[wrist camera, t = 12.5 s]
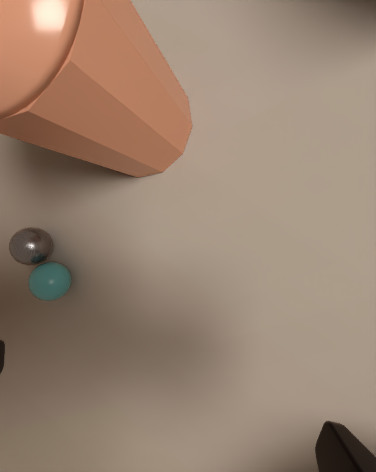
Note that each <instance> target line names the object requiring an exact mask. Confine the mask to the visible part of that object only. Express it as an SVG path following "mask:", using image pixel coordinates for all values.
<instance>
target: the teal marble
mask: <svg viewBox="0 0 376 472" xmlns="http://www.w3.org/2000/svg"><path fill="white" fill-rule="evenodd" d="M28 284H29V289H30V291H31V293H32V294H33V295H34V296H35V297H37V298H39V299H41V300H45V301H51V300H56V299H58V298H60V297H62V296H63V295H64V294H65V293H66V292H67V291H68V290H69V288H70V285H71V275H70V273H69V271H68V269H67V268H66V267H64V266H63V265H61V264H59V263H55V262H48V263H44V264H41V265H39V266H38V267H36V268H35V269H34V270H33V271H32V273H31V275H30V277H29V282H28Z"/></svg>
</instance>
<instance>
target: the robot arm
mask: <svg viewBox="0 0 376 472" xmlns="http://www.w3.org/2000/svg"><path fill="white" fill-rule="evenodd" d="M4 353H5V343H4V341H2V340H0V373H1V372H2V370H3V367H4ZM315 453H316V459H317V464H318V469H319V472H376V457H375V456H374V455H373V454H372V453H371V452H370V451H369V450H368V449H367V448H366V447H365V446H364V445H363V444H362V443H361V442H360V441H359V440H358V439H357V438H356V437H355V436H354V435H353V434H352V433H351V432H350V431H349V430H348V429H347V428H346V427H345V426H344V425H342V424H340V423H336V422H331V421H326V422H325V423H324V425H323V427H322V430H321V432H320V435H319V437H318V440H317V442H316V447H315Z"/></svg>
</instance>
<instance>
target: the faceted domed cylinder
mask: <svg viewBox="0 0 376 472" xmlns="http://www.w3.org/2000/svg"><path fill="white" fill-rule="evenodd" d="M191 129H192V120H191V114H190V107H189V100H188V97H187V95H186V94H185V92H184V90H183V89H182V87H181V85H180V84H179V82H178V80H177V78H176V77H175V75H174V73H173V72H172V70H171V68H170V67H169V65H168V63H167V62H166V60H165V58H164V56H163V55H162V53H161V51H160V50H159V48H158V46H157V45H156V43H155V41H154V40H153V38H152V36H151V35H150V33H149V31H148V29H147V28H146V26H145V24H144V23H143V21H142V19H141V18H140V16H139V14H138V13H137V11H136V9H135V8H134V6H133V4H132V2H131V1H130V0H0V134H3V135H6V136H9V137H13V138H16V139H19V140H22V141H25V142H28V143H31V144H35V145H38V146H41V147H44V148H47V149H50V150H53V151H57V152H60V153H63V154H66V155H69V156H72V157H75V158H79V159H82V160H85V161H88V162H91V163H94V164H97V165H100V166H104V167H107V168H110V169H113V170H116V171H119V172H122V173H126V174H129V175H132V176H135V177H143V176H148V175H152V174H157V173H162V172H164V171H165V170H166V169H167V168H168V167H169V166H170V165H171V164H172V163H173V162H174V161H175V160H177V159H178V158H179V157H180V156H181V155H182V154H183V152H184V149H185V146H186V143H187V140H188V138H189V135H190V132H191Z"/></svg>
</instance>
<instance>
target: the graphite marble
mask: <svg viewBox="0 0 376 472" xmlns="http://www.w3.org/2000/svg"><path fill="white" fill-rule="evenodd" d="M52 248H53V244H52V240H51V238H50V236H49V235H48V234H47V233H46V232H45V231H43V230H41V229H38V228H24V229H22V230H19V231H18V232H16V233H15V234H14V235H13V237H12V238H11V240H10V243H9V250H10V253H11V255H12V257H13V258H14V259H15V260H16V261H18V262H19V263H22V264H25V265H36V264H39V263H42V262H43V261H45V260H46V259H47V258H48V257H49V256H50V254H51V252H52Z"/></svg>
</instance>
